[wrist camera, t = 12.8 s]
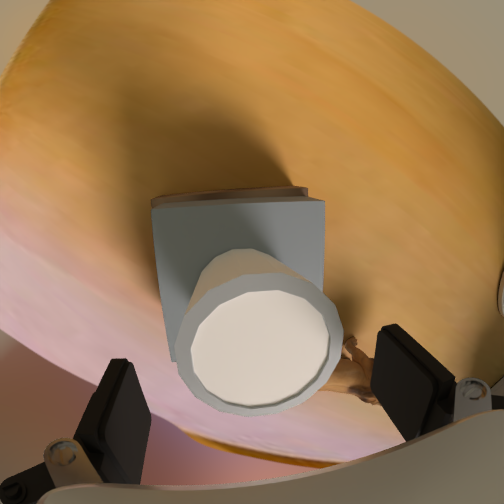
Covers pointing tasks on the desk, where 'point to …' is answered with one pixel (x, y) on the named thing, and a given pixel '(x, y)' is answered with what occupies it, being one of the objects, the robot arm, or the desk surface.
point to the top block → (231, 242)
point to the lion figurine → (353, 375)
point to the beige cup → (256, 336)
